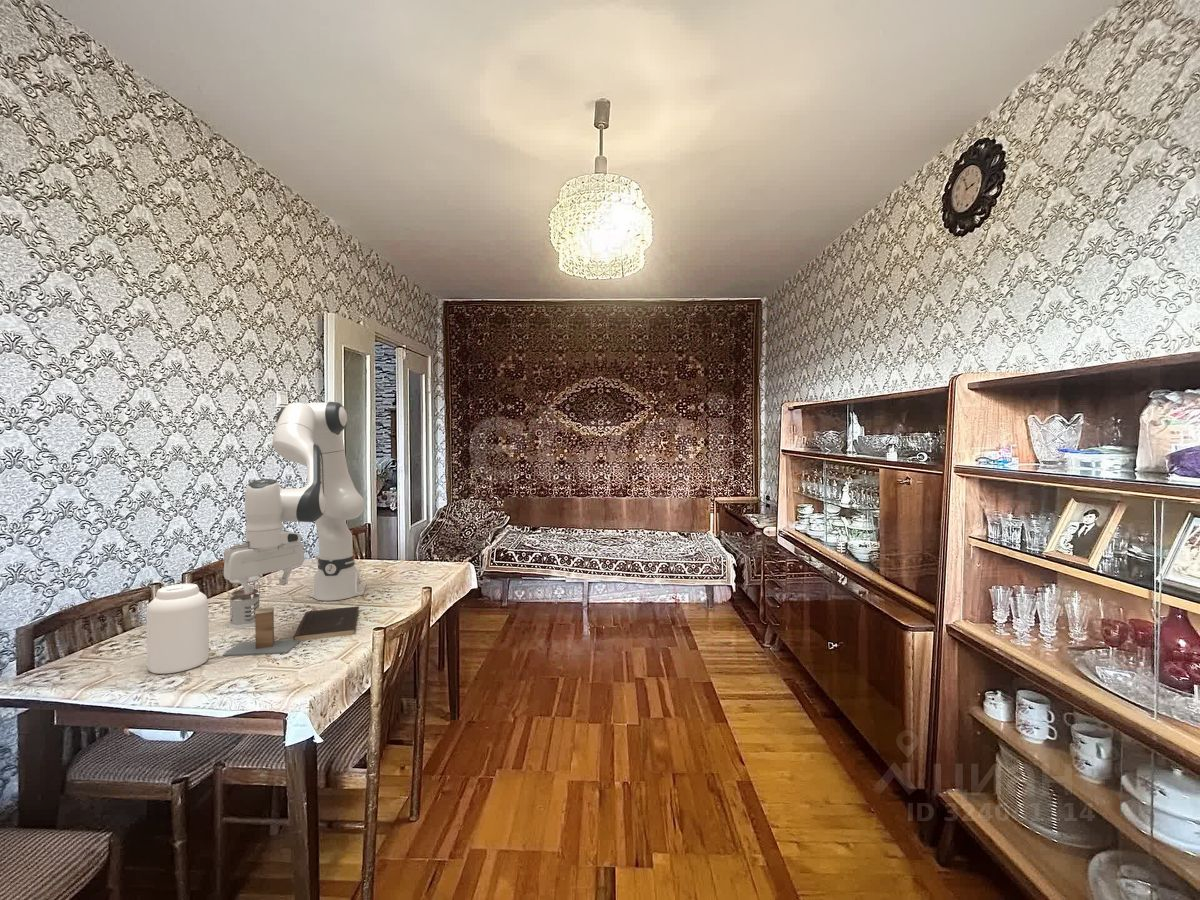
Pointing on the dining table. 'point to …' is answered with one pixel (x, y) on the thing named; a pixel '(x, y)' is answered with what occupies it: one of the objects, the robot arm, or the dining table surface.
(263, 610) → the walnut block
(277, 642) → the rubber mat
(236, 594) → the french press
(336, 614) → the hardcover book
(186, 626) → the white lidded jar
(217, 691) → the dining table surface
